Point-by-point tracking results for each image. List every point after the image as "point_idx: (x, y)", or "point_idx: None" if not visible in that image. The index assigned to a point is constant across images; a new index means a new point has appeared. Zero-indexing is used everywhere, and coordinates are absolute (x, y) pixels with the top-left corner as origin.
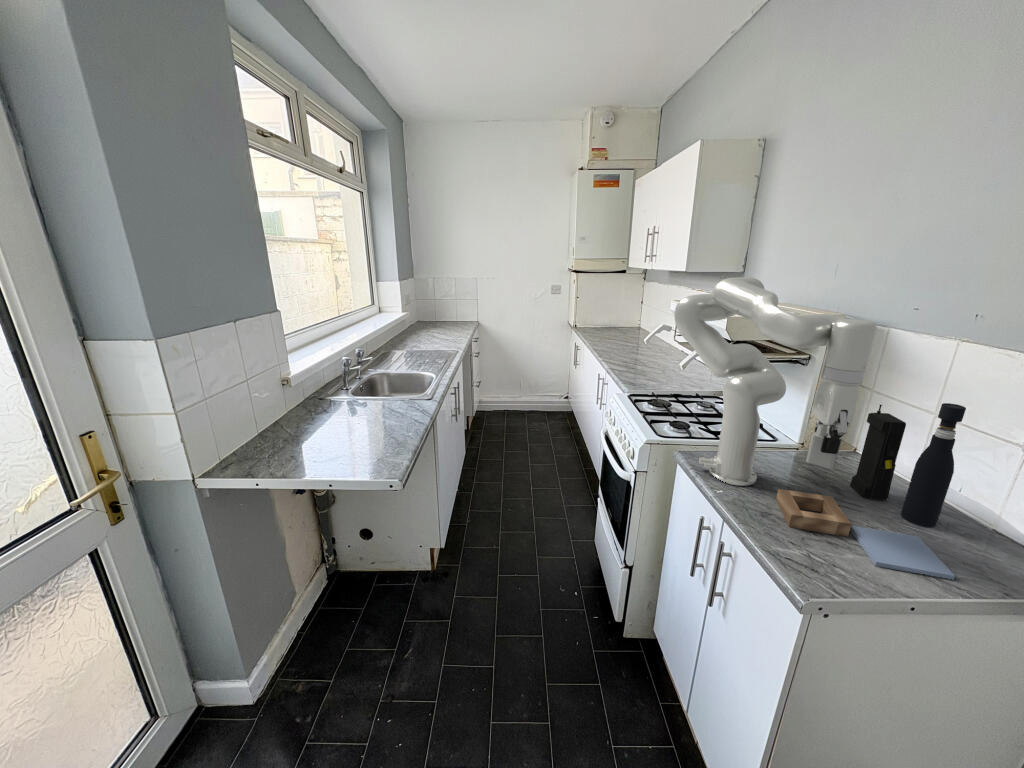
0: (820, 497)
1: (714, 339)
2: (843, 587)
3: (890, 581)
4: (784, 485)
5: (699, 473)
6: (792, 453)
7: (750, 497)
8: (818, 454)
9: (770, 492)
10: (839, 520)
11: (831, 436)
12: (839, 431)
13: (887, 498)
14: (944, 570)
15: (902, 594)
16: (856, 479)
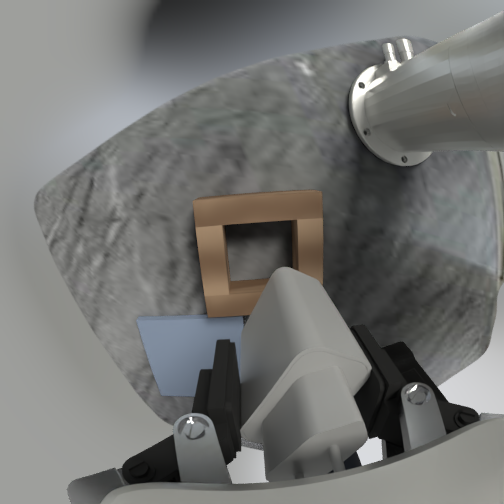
0: None
1: None
2: (65, 254)
3: (111, 321)
4: (387, 224)
5: (372, 46)
6: (492, 267)
7: (304, 132)
8: (263, 322)
9: (346, 184)
10: (212, 299)
11: (173, 438)
12: (83, 484)
13: None
14: (167, 390)
15: (93, 324)
16: (402, 357)
